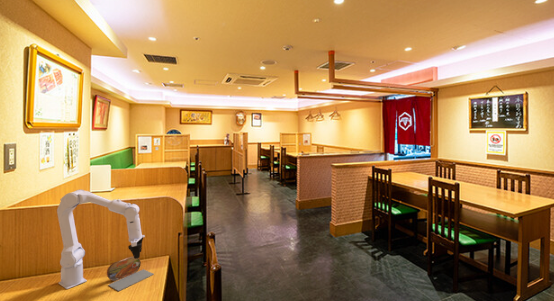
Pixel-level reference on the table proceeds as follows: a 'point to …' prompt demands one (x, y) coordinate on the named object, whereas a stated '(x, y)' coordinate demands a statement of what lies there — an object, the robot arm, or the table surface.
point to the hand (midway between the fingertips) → (138, 255)
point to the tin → (123, 268)
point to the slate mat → (130, 280)
